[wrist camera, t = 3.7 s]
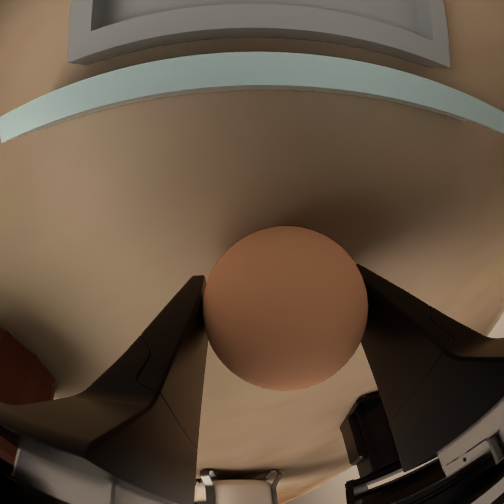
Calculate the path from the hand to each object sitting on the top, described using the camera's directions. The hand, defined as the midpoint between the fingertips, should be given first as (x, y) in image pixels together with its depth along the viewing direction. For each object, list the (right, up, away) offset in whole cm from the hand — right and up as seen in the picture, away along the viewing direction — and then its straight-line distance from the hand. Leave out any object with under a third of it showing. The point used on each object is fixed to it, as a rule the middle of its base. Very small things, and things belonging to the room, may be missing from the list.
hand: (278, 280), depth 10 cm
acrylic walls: (0, +13, -6) cm, 14 cm away
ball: (0, -1, -1) cm, 2 cm away
